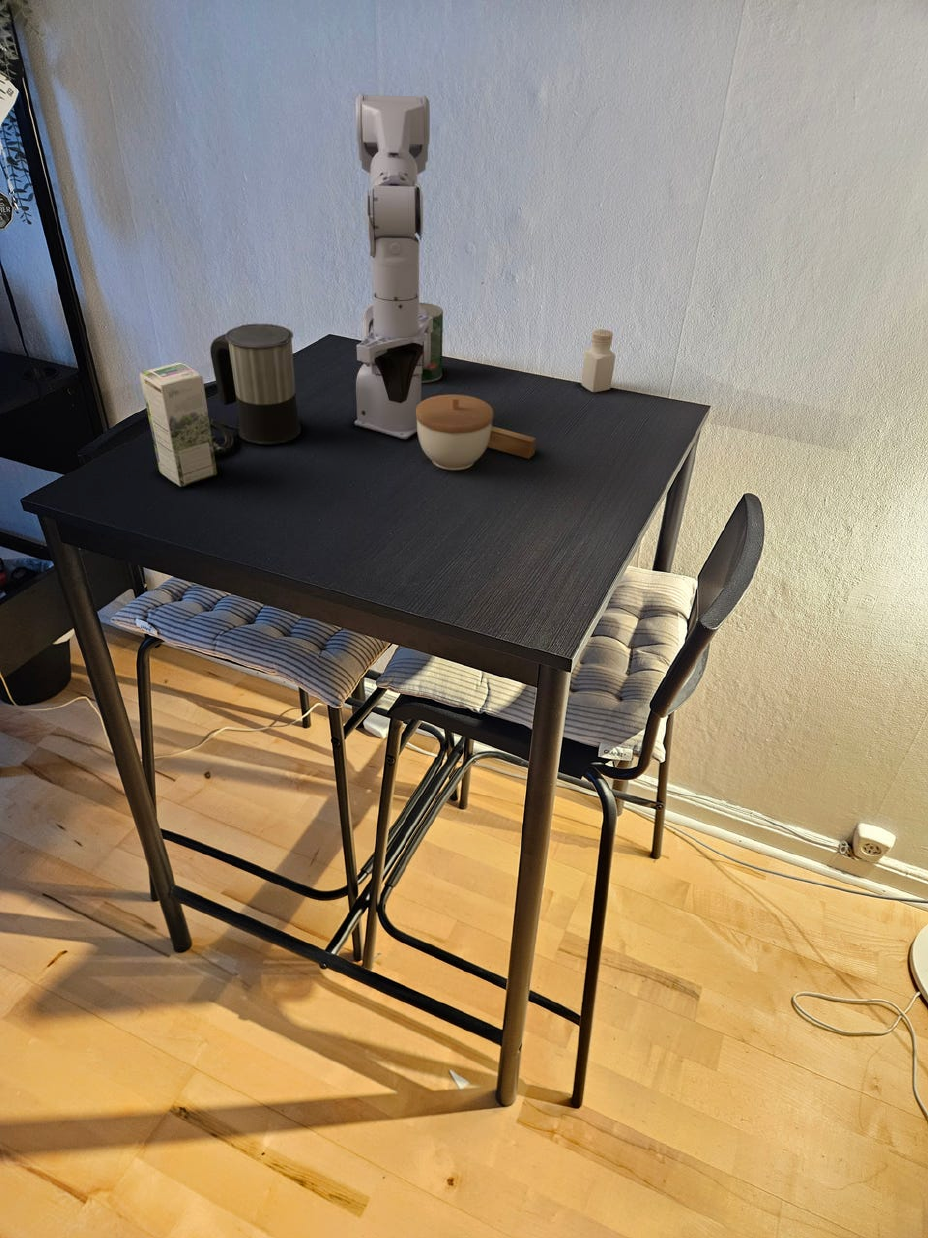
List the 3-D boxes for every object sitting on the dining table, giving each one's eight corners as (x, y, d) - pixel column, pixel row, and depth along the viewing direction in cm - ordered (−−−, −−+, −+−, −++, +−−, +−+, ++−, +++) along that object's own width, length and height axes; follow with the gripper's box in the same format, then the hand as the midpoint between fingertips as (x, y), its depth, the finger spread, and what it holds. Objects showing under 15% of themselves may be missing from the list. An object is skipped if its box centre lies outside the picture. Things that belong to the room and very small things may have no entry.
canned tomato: (449, 370, 146) (451, 307, 140) (429, 386, 141) (430, 320, 134) (409, 362, 149) (409, 299, 142) (388, 377, 143) (387, 312, 136)
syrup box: (196, 460, 117) (178, 359, 108) (219, 475, 114) (202, 372, 105) (159, 473, 114) (137, 369, 105) (181, 489, 111) (160, 384, 102)
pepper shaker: (579, 385, 143) (586, 329, 138) (598, 381, 145) (606, 326, 139) (592, 394, 141) (599, 337, 135) (611, 390, 142) (620, 334, 136)
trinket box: (483, 482, 115) (486, 418, 109) (407, 472, 117) (407, 409, 111) (496, 448, 123) (500, 387, 118) (425, 439, 125) (426, 379, 119)
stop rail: (434, 431, 127) (434, 415, 125) (441, 427, 128) (441, 410, 127) (528, 458, 121) (530, 441, 119) (534, 453, 123) (536, 436, 121)
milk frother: (311, 424, 128) (303, 327, 119) (266, 470, 116) (253, 366, 106) (227, 411, 130) (212, 315, 121) (174, 455, 118) (153, 352, 109)
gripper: (390, 315, 96) (392, 426, 104) (453, 286, 106) (451, 389, 114) (340, 304, 98) (346, 413, 107) (407, 277, 109) (407, 378, 117)
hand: (397, 400), depth 111 cm, fingers closed
